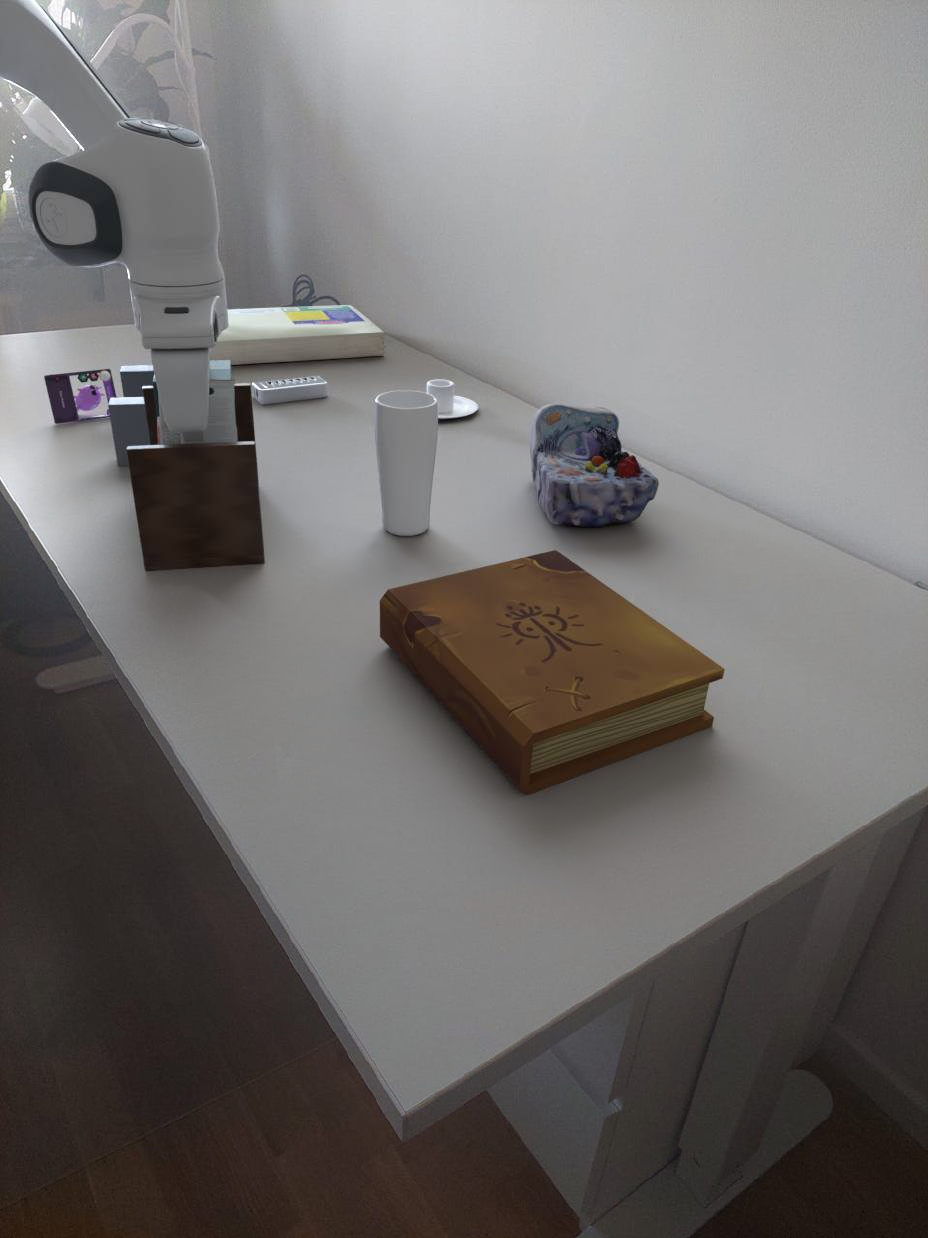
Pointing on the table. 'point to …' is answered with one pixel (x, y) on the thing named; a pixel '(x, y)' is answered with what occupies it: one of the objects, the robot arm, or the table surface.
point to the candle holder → (450, 400)
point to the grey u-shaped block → (130, 411)
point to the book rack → (198, 496)
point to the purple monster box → (85, 400)
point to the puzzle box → (297, 335)
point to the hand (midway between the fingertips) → (196, 445)
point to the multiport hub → (289, 390)
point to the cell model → (586, 468)
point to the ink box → (218, 417)
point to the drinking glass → (406, 458)
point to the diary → (548, 666)
